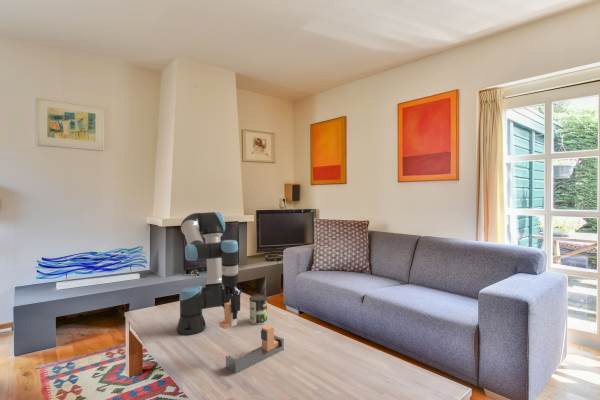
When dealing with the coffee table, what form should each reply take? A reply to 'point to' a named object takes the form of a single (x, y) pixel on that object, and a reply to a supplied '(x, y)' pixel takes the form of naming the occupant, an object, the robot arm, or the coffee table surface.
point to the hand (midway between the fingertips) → (230, 323)
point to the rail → (252, 357)
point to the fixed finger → (268, 338)
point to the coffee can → (258, 309)
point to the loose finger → (227, 316)
